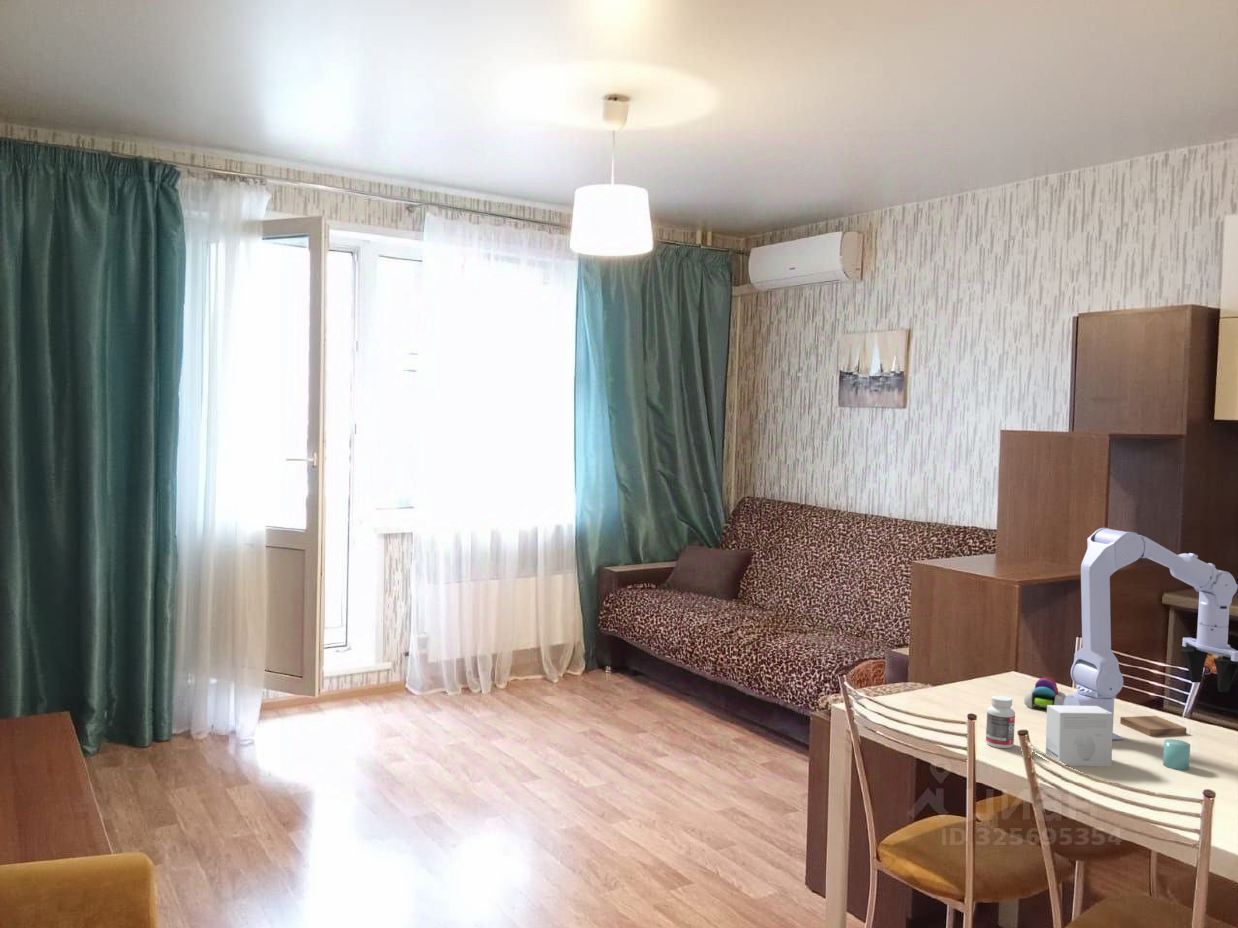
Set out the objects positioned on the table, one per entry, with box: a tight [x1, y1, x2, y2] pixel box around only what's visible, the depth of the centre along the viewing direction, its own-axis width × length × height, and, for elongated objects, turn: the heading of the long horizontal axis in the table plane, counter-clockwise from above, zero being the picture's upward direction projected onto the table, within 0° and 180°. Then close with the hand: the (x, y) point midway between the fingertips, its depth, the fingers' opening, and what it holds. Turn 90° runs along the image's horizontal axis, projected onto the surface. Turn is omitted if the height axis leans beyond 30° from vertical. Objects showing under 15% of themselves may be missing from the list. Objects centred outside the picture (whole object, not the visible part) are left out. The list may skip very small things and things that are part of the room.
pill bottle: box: [985, 695, 1016, 749], centre depth 203 cm, size 5×5×10 cm
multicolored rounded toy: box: [1023, 676, 1067, 709], centre depth 231 cm, size 8×10×7 cm
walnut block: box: [1119, 715, 1187, 737], centre depth 215 cm, size 9×9×2 cm
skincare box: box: [1045, 705, 1114, 767], centre depth 194 cm, size 10×6×10 cm, turn 91°
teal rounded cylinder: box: [1162, 738, 1191, 771], centre depth 191 cm, size 4×4×5 cm
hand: (1209, 686), depth 214 cm, fingers open, 7 cm apart
